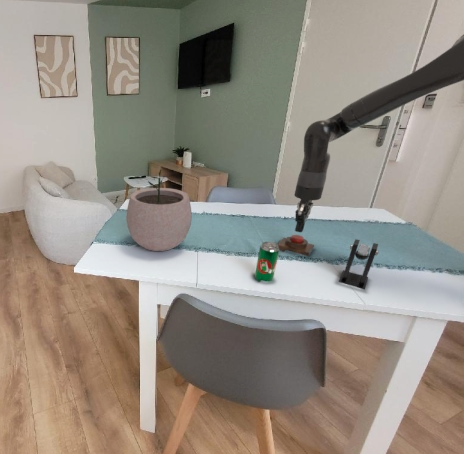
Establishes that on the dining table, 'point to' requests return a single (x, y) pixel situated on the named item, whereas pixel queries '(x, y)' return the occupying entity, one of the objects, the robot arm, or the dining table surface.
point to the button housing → (295, 246)
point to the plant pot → (159, 217)
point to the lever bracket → (358, 279)
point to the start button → (297, 238)
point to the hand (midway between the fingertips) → (298, 231)
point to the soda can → (266, 261)
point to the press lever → (362, 252)
